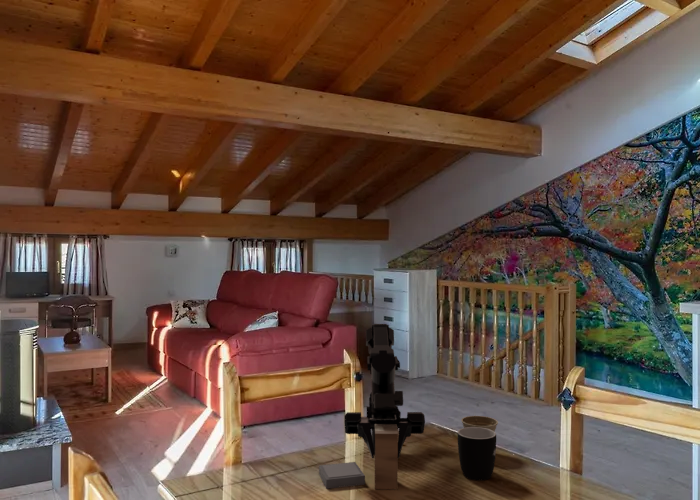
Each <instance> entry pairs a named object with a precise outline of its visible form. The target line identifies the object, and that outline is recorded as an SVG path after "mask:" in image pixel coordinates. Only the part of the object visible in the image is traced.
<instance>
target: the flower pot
mask: <svg viewBox="0 0 700 500" xmlns="http://www.w3.org/2000/svg"><path fill="white" fill-rule="evenodd" d="M461 423H462V427H463V428H467V427H480V428H486V429H490V430H492V431H494V432H495V433H496V429H497V426H498V424H499V421H498V420H497V419H495V418H493V417H490V416H482V415H468V416H465V417H462V418H461Z"/></svg>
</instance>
